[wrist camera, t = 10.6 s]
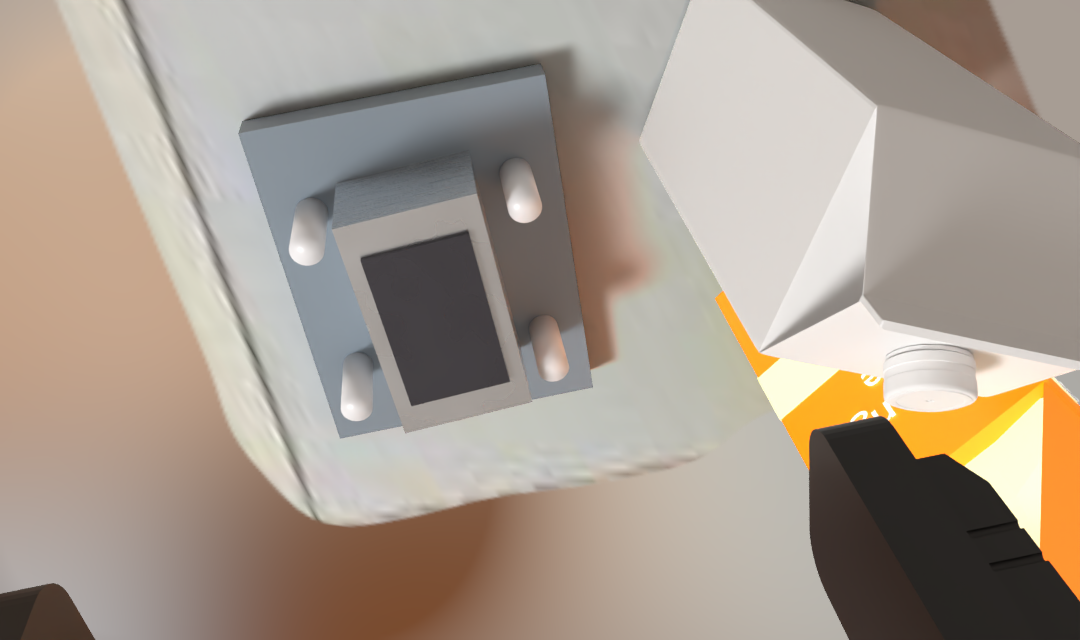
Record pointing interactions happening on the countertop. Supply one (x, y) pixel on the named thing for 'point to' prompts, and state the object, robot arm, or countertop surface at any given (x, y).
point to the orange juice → (953, 438)
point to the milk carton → (871, 200)
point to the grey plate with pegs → (402, 139)
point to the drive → (431, 290)
